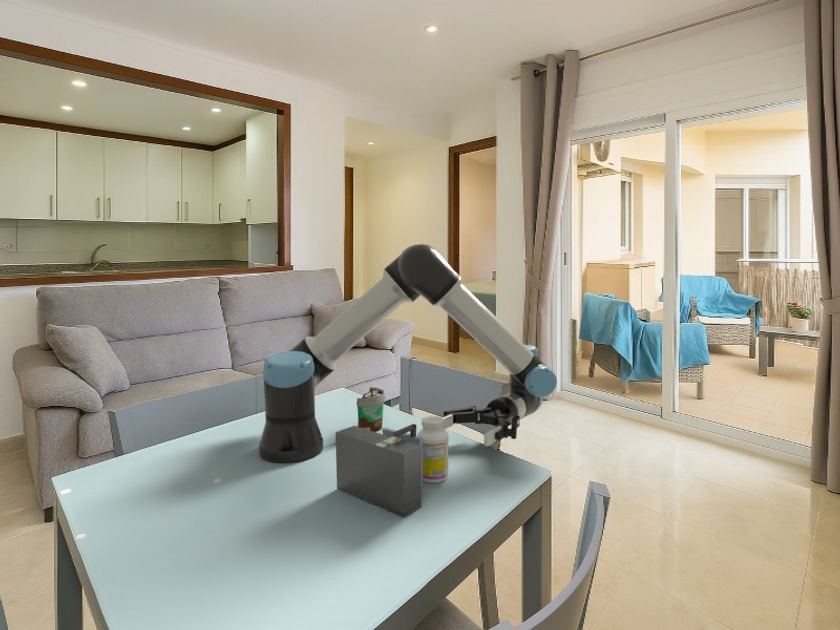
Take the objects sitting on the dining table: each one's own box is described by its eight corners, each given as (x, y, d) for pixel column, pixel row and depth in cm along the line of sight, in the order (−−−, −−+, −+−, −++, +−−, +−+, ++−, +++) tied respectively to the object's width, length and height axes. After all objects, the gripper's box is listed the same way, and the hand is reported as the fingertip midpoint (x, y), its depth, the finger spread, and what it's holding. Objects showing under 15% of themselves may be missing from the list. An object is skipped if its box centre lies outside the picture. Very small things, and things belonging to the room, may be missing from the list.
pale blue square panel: (366, 482, 103) (365, 423, 102) (386, 472, 108) (385, 416, 106) (403, 496, 97) (403, 434, 95) (422, 485, 102) (422, 426, 100)
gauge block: (336, 489, 102) (335, 431, 101) (354, 480, 106) (353, 424, 105) (404, 517, 91) (403, 452, 90) (421, 506, 95) (421, 444, 94)
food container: (379, 437, 132) (379, 400, 130) (357, 435, 133) (356, 398, 132) (391, 421, 144) (391, 387, 142) (370, 420, 145) (370, 386, 144)
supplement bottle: (426, 468, 112) (426, 412, 111) (453, 474, 109) (453, 417, 107) (411, 480, 106) (411, 421, 105) (439, 487, 103) (440, 426, 102)
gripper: (550, 435, 124) (508, 463, 107) (465, 415, 139) (417, 437, 123) (551, 405, 123) (509, 429, 106) (465, 388, 138) (417, 407, 122)
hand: (459, 433), depth 114 cm, fingers open, 13 cm apart
